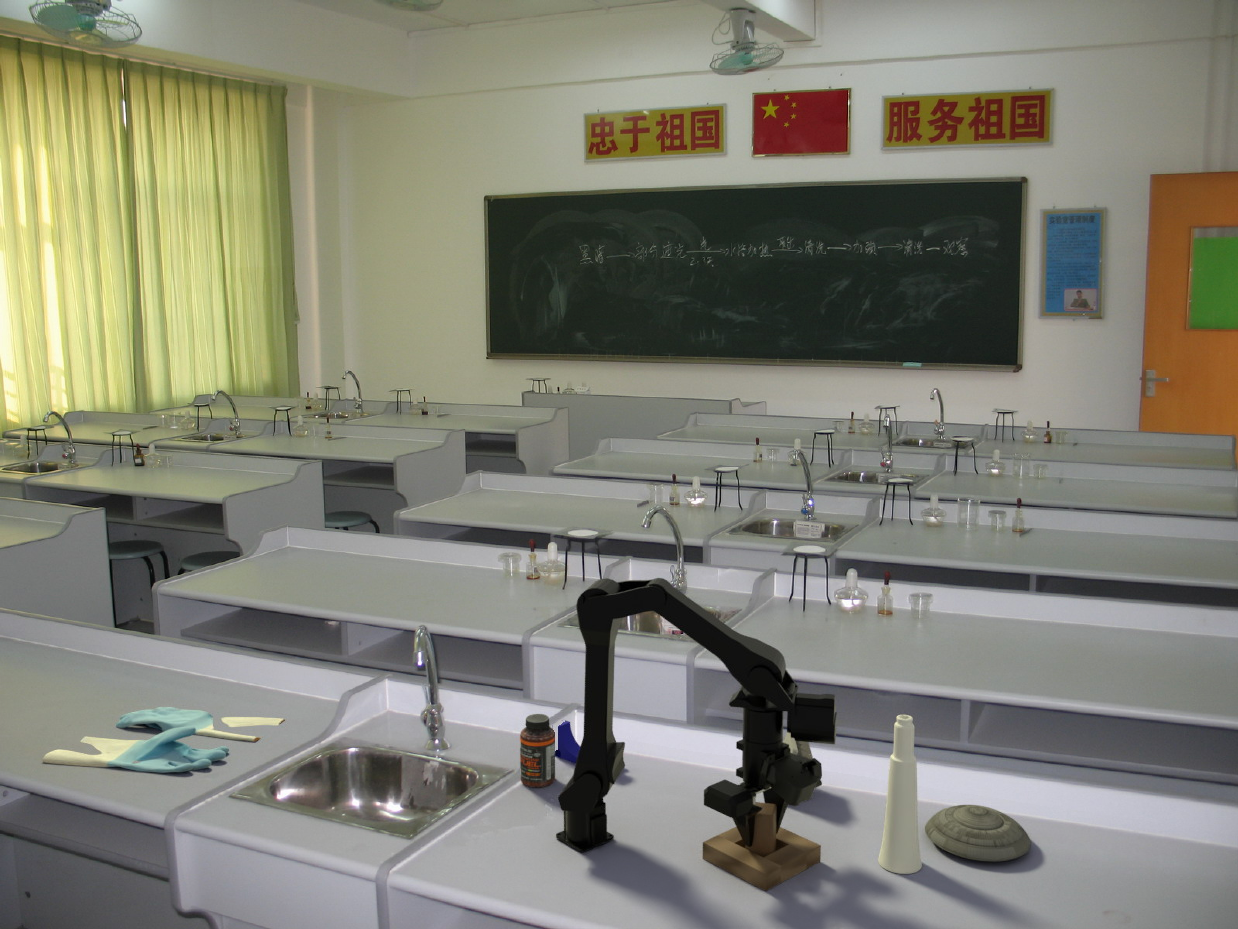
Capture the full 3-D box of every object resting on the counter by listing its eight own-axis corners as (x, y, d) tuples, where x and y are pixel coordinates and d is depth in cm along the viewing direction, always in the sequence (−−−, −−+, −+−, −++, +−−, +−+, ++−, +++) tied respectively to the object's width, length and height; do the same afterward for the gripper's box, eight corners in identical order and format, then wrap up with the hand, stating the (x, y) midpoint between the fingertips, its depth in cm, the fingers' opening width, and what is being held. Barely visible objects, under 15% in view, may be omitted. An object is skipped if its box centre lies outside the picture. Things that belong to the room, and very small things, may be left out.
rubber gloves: (140, 711, 216) (138, 680, 215) (286, 722, 210) (285, 691, 209) (41, 766, 190) (38, 731, 189) (206, 781, 183) (203, 745, 182)
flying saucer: (913, 820, 167) (914, 787, 166) (1009, 820, 166) (1011, 787, 166) (940, 870, 152) (942, 833, 151) (1046, 870, 151) (1048, 833, 151)
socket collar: (702, 858, 155) (702, 842, 154) (757, 832, 162) (757, 816, 162) (765, 891, 146) (765, 874, 145) (820, 861, 153) (820, 845, 153)
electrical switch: (771, 779, 181) (777, 727, 180) (802, 782, 181) (808, 731, 180) (775, 804, 172) (782, 749, 171) (807, 808, 172) (814, 753, 170)
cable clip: (619, 766, 187) (619, 733, 186) (602, 774, 184) (602, 741, 183) (570, 749, 195) (569, 717, 194) (552, 756, 192) (552, 724, 191)
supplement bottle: (514, 786, 179) (513, 721, 178) (529, 772, 185) (528, 709, 183) (546, 791, 177) (545, 726, 175) (561, 776, 183) (560, 713, 181)
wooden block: (772, 868, 152) (773, 815, 151) (744, 865, 153) (745, 812, 152) (776, 855, 155) (777, 803, 154) (748, 851, 156) (749, 800, 155)
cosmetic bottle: (896, 878, 149) (901, 728, 146) (869, 858, 154) (873, 713, 151) (930, 869, 151) (936, 721, 148) (903, 850, 157) (908, 707, 154)
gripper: (762, 772, 139) (760, 884, 141) (849, 736, 152) (846, 839, 154) (701, 747, 148) (700, 853, 150) (788, 714, 160) (786, 812, 162)
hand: (761, 839), depth 154 cm, fingers closed on wooden block, 5 cm apart
